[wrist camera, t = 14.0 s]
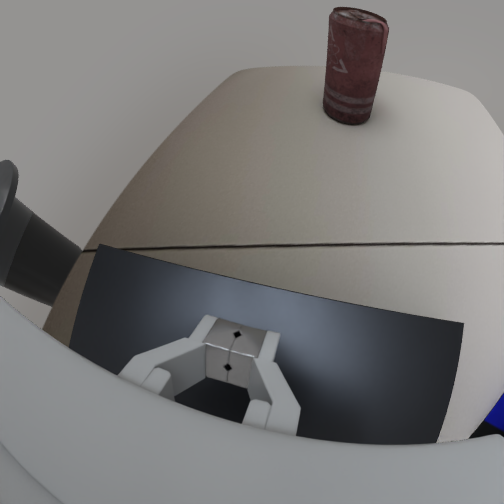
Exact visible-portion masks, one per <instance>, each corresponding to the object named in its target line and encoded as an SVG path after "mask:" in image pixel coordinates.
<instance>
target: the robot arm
mask: <svg viewBox="0 0 504 504" xmlns="http://www.w3.org/2000/svg"><path fill="white" fill-rule="evenodd" d="M279 339H280V333H278V332H273V331H267V330H262V329H258V328H254V327H250V326H246V325H242V324H239V323H235V322H232V321H228V320H225V319H221V318H217V317H214V316H211V315H205V316H204V317H203V318H202V320H201V321H200V323H199V324H198V325H197V327H196V328H195V330H194V331H193V333H192V334H191V335H190V337H189V338H182V339H179V340H177V341H174V342H171V343H169V344H166V345H163V346H161V347H158V348H155V349H152V350H149V351H147V352H144V353H141V354H138V355H135V356H134V357H133V358H132V359H131V360H130V361H129V363H128V364H127V365H126V366H125V367H124V368H123V370H122V371H121V372H120V373H119V374H118V375H115V374H113V373H111V372H109V371H107V370H106V369H104V368H102V367H100V366H98V365H97V364H95V363H93V362H91V361H90V360H88V359H86V358H85V357H83V356H81V355H80V354H78V353H76V352H75V351H73V350H72V349H70V348H68V347H67V346H65V345H64V344H62V343H61V342H59V341H58V340H56V339H55V338H53V337H52V336H50V335H49V334H48V333H46V332H45V331H43V330H42V329H41V328H39V327H38V326H37V325H35V324H34V323H33V322H31V321H30V320H29V319H27V318H26V317H25V316H24V315H22V314H21V313H20V312H19V311H17V310H16V309H15V308H14V307H12V306H11V305H10V304H9V303H8V302H7V301H6V300H5V299H3V298H2V297H1V296H0V504H504V437H503V436H501V435H499V434H493V435H488V436H483V437H478V438H472V439H466V440H459V441H451V442H442V443H430V444H411V445H377V444H357V443H345V442H335V441H326V440H318V439H311V438H305V437H299V436H296V432H297V427H298V422H299V416H300V410H301V407H300V406H299V404H298V402H297V400H296V398H295V396H294V395H293V393H292V391H291V389H290V387H289V385H288V383H287V382H286V380H285V378H284V376H283V374H282V372H281V370H280V368H279V366H278V365H277V363H275V362H274V359H275V355H276V351H277V347H278V343H279ZM205 377H208V378H212V379H215V380H219V381H223V382H226V383H229V384H233V385H236V386H239V387H242V388H246V389H247V390H248V393H249V397H250V400H251V401H250V403H249V406H248V408H247V411H246V414H245V416H244V419H243V422H242V424H240V423H237V422H233V421H230V420H226V419H223V418H220V417H216V416H213V415H210V414H207V413H204V412H201V411H198V410H196V409H193V408H190V407H187V406H185V405H182V404H179V403H177V402H175V398H174V396H176V395H177V394H179V393H181V392H183V391H184V390H186V389H188V388H189V387H191V386H193V385H194V384H196V383H198V382H199V381H201V380H203V379H204V378H205Z"/></svg>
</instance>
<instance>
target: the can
mask: <svg viewBox="0 0 504 504" xmlns="http://www.w3.org/2000/svg"><path fill="white" fill-rule="evenodd" d="M388 33H389V27H388V25H387V21H386V20H385V19H384V18H383V17H381V16H379V15H377V14H374V13H372V12H369V11H365V10H361V9H357V8H350V7H337V8H334V9H333V12H332V13H331V14H330V16H329V33H328V49H327V64H326V76H325V87H324V98H323V107H324V109H325V110H326V112H327V113H328V115H329V116H331V117H332V118H333V119H335V120H337V121H339V122H342V123H345V124H360V123H362V122H364V121H366V120H367V119H368V118H369V117H370V113H371V110H372V106H373V102H374V98H375V94H376V90H377V86H378V81H379V77H380V72H381V68H382V63H383V58H384V54H385V49H386V44H387V38H388Z"/></svg>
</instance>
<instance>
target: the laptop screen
mask: <svg viewBox="0 0 504 504" xmlns="http://www.w3.org/2000/svg"><path fill="white" fill-rule="evenodd" d="M205 315H211V316H214V317H217V318H221V319H225V320H228V321H232V322H235V323H239V324H242V325H246V326H250V327H254V328H258V329H262V330H267V331H273V332H278V333H280V339H279V343H278V347H277V351H276V355H275V359H274V362H275V363H277V365H278V366H279V368H280V370H281V372H282V374H283V376H284V378H285V380H286V382H287V383H288V385H289V387H290V389H291V391H292V393H293V395H294V396H295V398H296V400H297V402H298V404H299V406H300V407H301V410H300V416H299V422H298V427H297V432H296V436H299V437H305V438H311V439H318V440H326V441H335V442H345V443H357V444H377V445H411V444H430V443H436V442H437V439H438V436H439V434H440V431H441V428H442V425H443V422H444V419H445V415H446V412H447V409H448V405H449V401H450V398H451V394H452V390H453V386H454V381H455V377H456V372H457V367H458V362H459V356H460V350H461V343H462V336H463V327H464V323H460V322H454V321H448V320H441V319H435V318H429V317H423V316H417V315H412V314H406V313H400V312H395V311H389V310H384V309H378V308H373V307H368V306H362V305H357V304H352V303H347V302H342V301H337V300H332V299H327V298H322V297H317V296H312V295H308V294H303V293H298V292H293V291H289V290H284V289H280V288H275V287H271V286H266V285H262V284H257V283H253V282H248V281H244V280H240V279H235V278H231V277H227V276H223V275H219V274H214V273H210V272H206V271H202V270H198V269H194V268H190V267H186V266H182V265H178V264H174V263H170V262H166V261H162V260H158V259H154V258H150V257H147V256H143V255H139V254H135V253H132V252H128V251H124V250H120V249H117V248H113V247H110V246H106V245H102V244H99V246H98V249H97V252H96V254H95V257H94V260H93V263H92V266H91V268H90V271H89V274H88V278H87V281H86V284H85V287H84V290H83V294H82V297H81V300H80V304H79V307H78V311H77V315H76V319H75V323H74V327H73V331H72V335H71V340H70V344H69V348H70V349H72V350H73V351H75V352H76V353H78V354H80V355H81V356H83V357H85V358H86V359H88V360H90V361H91V362H93V363H95V364H97V365H98V366H100V367H102V368H104V369H106V370H107V371H109V372H111V373H113V374H115V375H118V374H119V373H120V372H121V371H122V370H123V368H124V367H125V366H126V365H127V364H128V363H129V361H130V360H131V359H132V358H133V357H134V356H135V355H138V354H141V353H144V352H147V351H149V350H152V349H155V348H158V347H161V346H163V345H166V344H169V343H171V342H174V341H177V340H179V339H182V338H189V337H190V335H191V334H192V333H193V331H194V330H195V328H196V327H197V325H198V324H199V323H200V321H201V320H202V318H203V317H204V316H205ZM174 398H175V402H177V403H179V404H182V405H185V406H187V407H190V408H193V409H196V410H198V411H201V412H204V413H207V414H210V415H213V416H216V417H220V418H223V419H226V420H230V421H233V422H237V423H240V424H242V422H243V419H244V416H245V414H246V411H247V408H248V406H249V403H250V401H251V400H250V397H249V393H248V390H247V389H246V388H242V387H239V386H236V385H233V384H229V383H226V382H223V381H219V380H215V379H212V378H208V377H205V378H204V379H203V380H201V381H199V382H198V383H196V384H194V385H193V386H191V387H189V388H188V389H186V390H184V391H183V392H181V393H179V394H177V395H176V396H174Z"/></svg>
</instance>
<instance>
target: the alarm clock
mask: <svg viewBox="0 0 504 504" xmlns="http://www.w3.org/2000/svg"><path fill="white" fill-rule="evenodd" d="M493 434H499V435H501V436H503V437H504V393H503V395H502V396H501V398H500V399H499V401H498V402H497V403H496V405H495V406H494V408H493V409H492V410H491V412H490V413H489V414H488V416H487V417H486V418H485V420H484V421H483V422H482V423H481V425H480V426H479V427H478V428H477V429H476V431H475V432H474V433H473V434H472V435H471V437H470V438H469V439H472V438H478V437H483V436H488V435H493Z"/></svg>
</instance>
